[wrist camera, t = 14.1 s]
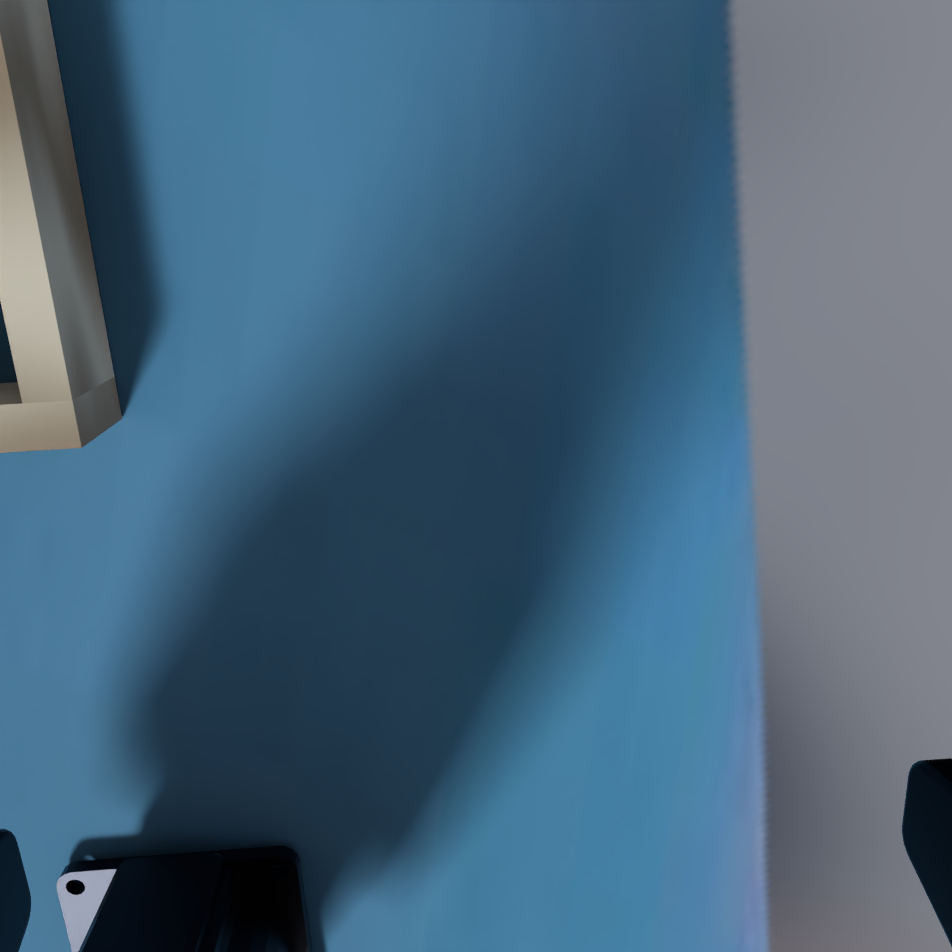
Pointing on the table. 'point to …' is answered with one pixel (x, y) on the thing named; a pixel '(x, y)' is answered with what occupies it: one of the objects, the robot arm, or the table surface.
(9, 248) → the birch frame
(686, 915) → the table surface
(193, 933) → the robot arm
